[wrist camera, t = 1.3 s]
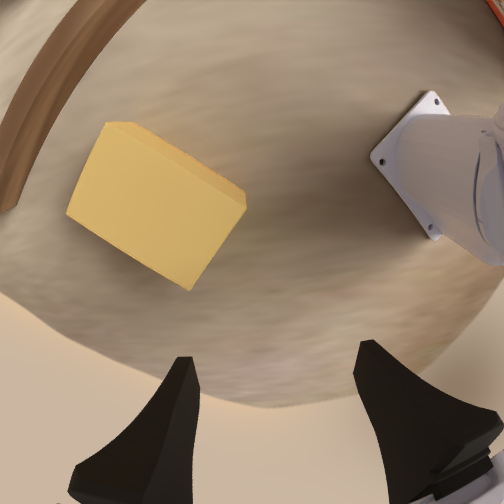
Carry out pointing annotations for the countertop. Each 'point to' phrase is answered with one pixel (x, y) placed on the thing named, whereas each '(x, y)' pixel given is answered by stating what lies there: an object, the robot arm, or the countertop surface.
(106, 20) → the walnut board
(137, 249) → the ochre block
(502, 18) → the cracker box
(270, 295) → the countertop surface
